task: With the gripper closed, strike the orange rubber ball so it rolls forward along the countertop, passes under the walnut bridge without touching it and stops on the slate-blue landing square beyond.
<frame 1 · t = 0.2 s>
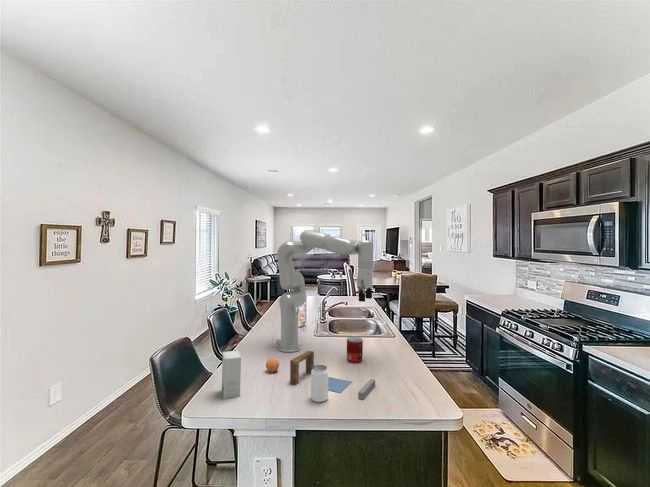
hand: (365, 299, 169), 31 cm above the kitchen island, tool pointing down, fingers open, 9 cm apart
stopper: (367, 391, 136), on the kitchen island
can: (319, 399, 130), on the kitchen island
bridge: (302, 377, 150), on the kitchen island
canned food: (354, 360, 172), on the kitchen island
skincare box: (231, 393, 135), on the kitchen island
ball: (272, 364, 157), on the kitchen island
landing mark: (333, 384, 143), on the kitchen island
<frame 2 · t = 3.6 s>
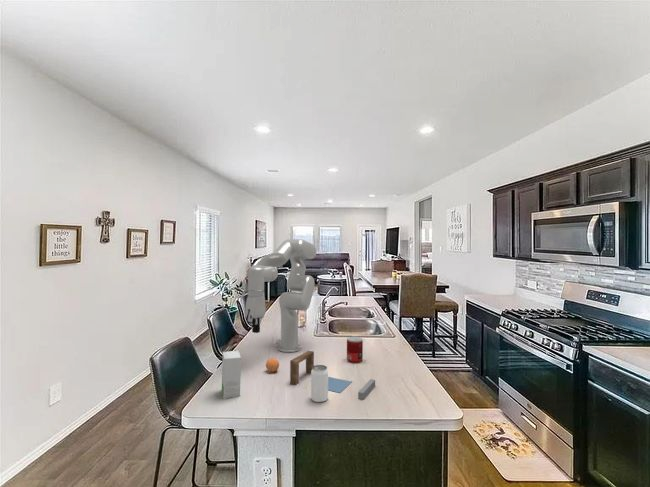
hand: (256, 332, 161), 17 cm above the kitchen island, tool pointing down, fingers closed
nothing on the kitchen island moved.
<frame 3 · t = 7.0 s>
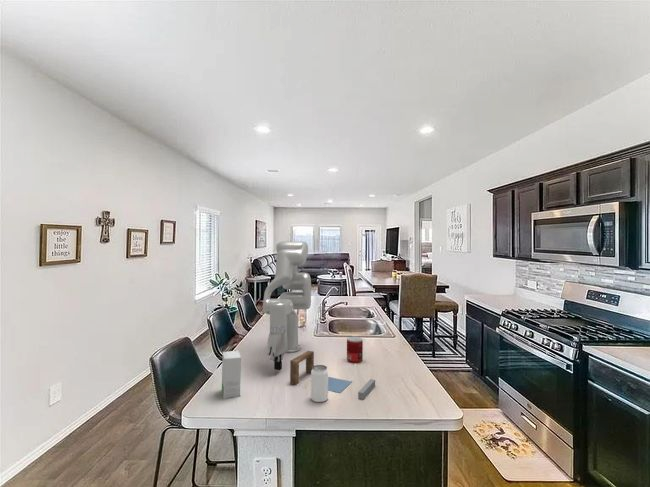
hand: (278, 369, 156), 2 cm above the kitchen island, tool pointing down, fingers closed
ball: (320, 376, 144), on the kitchen island
everything else where it was.
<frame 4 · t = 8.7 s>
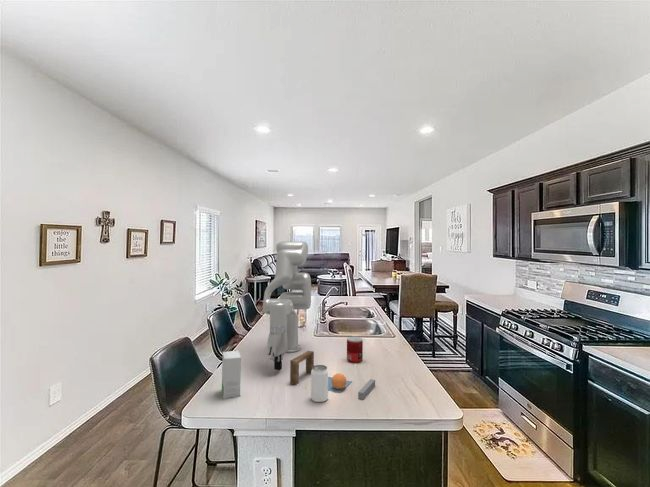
hand: (278, 369, 156), 2 cm above the kitchen island, tool pointing down, fingers closed
ball: (339, 381, 139), on the kitchen island
everything else where it was.
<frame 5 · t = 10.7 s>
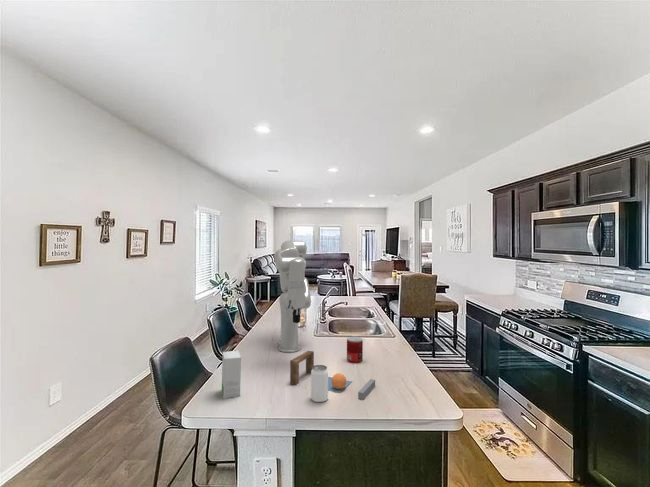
hand: (296, 322, 165), 21 cm above the kitchen island, tool pointing down, fingers closed
nothing on the kitchen island moved.
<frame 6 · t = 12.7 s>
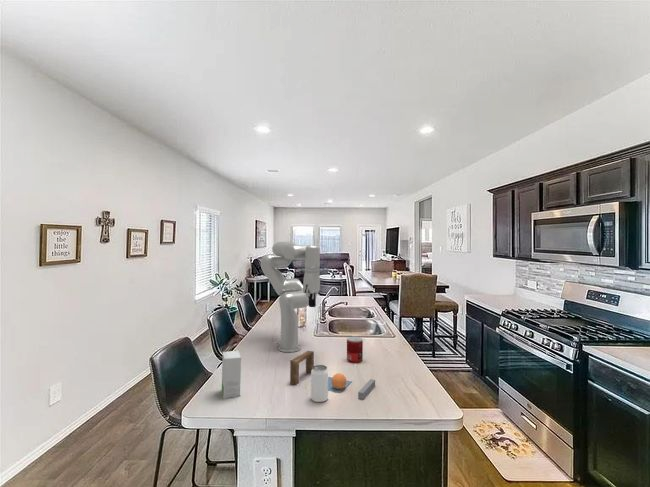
hand: (312, 306, 172), 27 cm above the kitchen island, tool pointing down, fingers closed
nothing on the kitchen island moved.
at the end: ball 4.4 cm from the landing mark (horizontally); ball never touched bridge; ball at rest at the end (0.0 cm/s) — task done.
